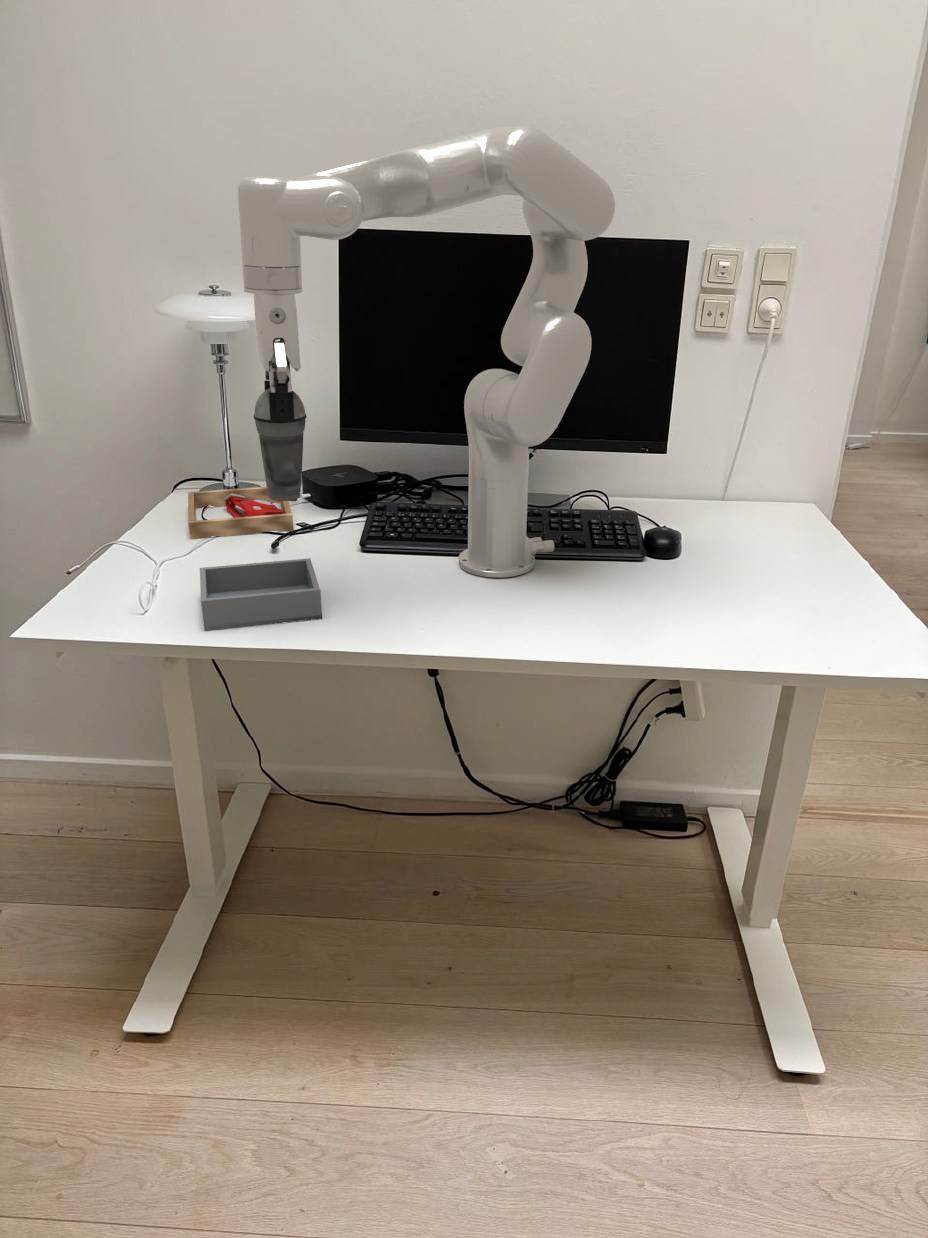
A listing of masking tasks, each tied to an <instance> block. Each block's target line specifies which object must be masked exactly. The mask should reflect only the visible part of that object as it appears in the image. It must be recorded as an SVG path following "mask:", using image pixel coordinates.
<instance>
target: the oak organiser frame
mask: <svg viewBox="0 0 928 1238" xmlns="http://www.w3.org/2000/svg"><path fill="white" fill-rule="evenodd" d="M231 493H232V494H236V495H240V496H244V497H245V498H244V499H243V501H248V500H252V499H256V500H263V501H266V502H276V503H279V504H281V505H280V507H282V508H281V510H282V511H283V514H276V515H263V516H250V517H245V516H244V517H237V518H234V517H227V518H226V517H225V518H213V519H210V518H209V519H201V520H197V518H196V517H197V516H196V509H203V508H202V507H205V506H207V505H211V506H221V507H226V504H225V502H226V501H223V499H224V498H225V497H227V496H228V495H230V494H231ZM187 503H188V509H187V510H188V519H187V520H188V529H189V538H190V540H198V538H199V539H207V538H206V537H211V536H224V537H234V536H235V535H236V536H247V535H248V534H249V535H257V534H256V533H261V534H263V533H262V532H268V531H286V532H293V531H292V530H294V518H293V511H292V509H291V506H290V502H289V501H276V500H272V499H270V498H269V494H268V489H267V486H260V487H259V486H257V487H246V488H245V487H243V488H230V489H215V490H199V491H188V492H187ZM294 531H295V530H294ZM211 538H212V537H211Z"/></svg>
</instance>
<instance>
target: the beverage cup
mask: <svg viewBox="0 0 928 1238" xmlns="http://www.w3.org/2000/svg"><path fill="white" fill-rule="evenodd" d="M274 384H275V382H274ZM292 391H293V399H294V421H293V422H279V423H272V422H271V421H270V409H269V392H271V390H270V388H269V389H267V390H265V389H264V390H263V392H262V393H261V394H259V396H258V398H257V400H256V402H255V406H254V411H253V412H254V414H253V420H254V423H255V426H256V430H257V433H258V436H259V437H258V439H259V445H260V450H261V456H262V458H261V460H262V463H263V470H264V471H263V472H264V476H265V477H264V478H265V484H266V487H267V489H268V494H269V498H270V499H272V500H276V501H288V502H289V501H295V500H298V499H299V498H300V497H301V491H302V479H303V478H302V477H303V452H304V432H305V428H306V418H307V414H306V410H305V406H304V402H303V401H302V400H301V398H300V396H299V394H297V393H296V392H295V391H294V390H292Z"/></svg>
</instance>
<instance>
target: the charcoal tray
mask: <svg viewBox="0 0 928 1238" xmlns="http://www.w3.org/2000/svg"><path fill="white" fill-rule="evenodd" d="M311 560H312V559H311V558H298V559H286V560H276V561H265V562H264V561H263V562H252V563H251V562H250V563H242V564H241V563H240V564H230V565H229V564H228V565H218V566H217V565H216V566H208V567H207V566H206V567H199V582H200V583H199V584H200V605H201V612H202V621H203V629H204V632H207V631H216V630H225V629H234V628H236V629H237V628H247V627H255V626H256V627H257V626H266V625H274V624H275V623H277V624H284V623H283V622H287V623H292V622H291V621H296V622H300V621H299V620H306V621H312V620H311V619H316V620H322V619H323V612H322V611H323V610H322V596H321V588H320V585H319V581H318V579H317V575H316V573H315V568H314V565H313V563H312V561H311Z"/></svg>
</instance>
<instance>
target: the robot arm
mask: <svg viewBox="0 0 928 1238" xmlns="http://www.w3.org/2000/svg"><path fill="white" fill-rule="evenodd" d="M499 196H501V197H502V196H520V197H521V198H522V215H523V217H524V221H525V223H526V225H527V229H528V231H529V234H530V237H531V241H532V249H533V250H532V251H533V253H532V255H533V256H532V261H531V265H530V268H529V272H528V274H527V276H526V279H525V281H524V283H523V286H522V288H521V290H520V292H519V294H518V296H517V298H516V301H515V303H514V305H513V307H512V309H511V312H510V313H509V316H508V318H507V320H506V322H505V325H504V326H503V329H502V332H501V336H500V347H501V349H502V352H503V354H504V355H505V356H506V358H507V359H508V360H509V361H511V362H513V363H514V364H516V365H518V366H521V367H522V368H521V370H520V372H519V374H518V373H516V372H513V371H509V370H507V369H503V368H491V369H490V368H489V369H486V370H483V371H481V372H479V373H478V374H477V375H475V377H473V378H472V380H471V381H470V382H469V384H468V386H467V389H466V390H465V394H464V400H463V404H464V406H463V408H464V409H463V410H464V419H465V424H466V425H465V426H466V432H467V440H468V443H467V444H468V502H467V503H468V506H467V507H468V511H467V512H468V513H467V514H468V515H467V517H468V518H467V519H468V521H467V522H468V523H467V548H466V549H464V550H463V551H461V552H460V553H459V555H458V565H459V567H460V568H461V569H462V570H464V571H465V572H467V573H470V574H472V575H475V576H480V577H485V578H501V579H502V578H511V577H517V576H520V575H523V574H526V573H529V572H530V571H531V570H533V568H534V567H535V560H536V559H535V555H537V553H550V552H551V553H552V552H554V551H555V543H554V540H553V539H549V540H543V538H542V537H541V536H540V537H539V536H538V537H531V538H529V537H528V535H527V524H528V523H527V518H528V497H529V495H528V492H529V474H530V473H529V471H530V455H529V447H534V446H538V445H540V444H542V443H543V442H545V441H547V440H548V439H549V438H550V436H552V434H553V433H554V431H555V430H556V429H557V428H558V425H559V424H560V423H561V420H562V418H563V417H564V415H565V412H566V410H567V408H568V406H569V404H570V403H571V400H572V398H573V396H574V394H575V392H576V390H577V388H578V386H579V383H580V381H581V379H582V378H583V376H584V373H585V371H586V368H587V366H588V364H589V361H590V357H591V351H592V335H591V331H590V328H589V325H588V324H587V323H586V321H585V320H584V318H582V317H581V316H580V314H579V315H578V314H577V313H575V309H576V308H577V307H576V306H577V304H578V303H579V302H578V301H579V299H580V297H581V295H582V293H583V290H584V287H585V284H586V282H587V276H588V264H589V263H588V254H587V248H586V247H587V246H586V243H585V241H590V240H594V239H596V238H598V237H599V236H601V235H603V234H604V233H605V232H606V231H607V230H608V228H609V227H610V225H611V224H612V222H613V219H614V216H615V209H616V203H615V202H616V201H615V195H614V194H613V191H612V189H611V187H610V185H609V184H608V182H607V181H606V180H605V179H604V178H603V177H602V176H601V175H600V174H599V173H598V172H596V171H595V170H594V169H592V168H591V167H590V166H589V165H588V164H586V163H585V162H584V161H582V160H581V159H579V158H578V157H576V155H574V154H573V153H571V152H570V151H569V150H568V149H567V148H565V147H564V146H563V145H561V144H560V143H559V142H558V141H556V140H555V139H553V138H552V137H551V136H549V135H548V134H546V133H545V132H543V131H541V130H540V129H537V128H535V127H532V126H529V125H517V126H516V125H515V126H512V125H511V126H497V127H491V128H488V129H483V130H480V131H475V132H471V133H468V134H463V135H459V136H455V137H451V138H447V139H443V140H440V141H436V142H432V143H428V144H424V145H420V146H416V147H412V148H407V149H403V150H400V151H397V152H393V153H389V154H387V155H383V156H380V157H379V156H378V157H375V158H371V159H368V160H364V161H360V162H354V163H351V164H347V165H342V166H338V167H334V168H331V169H327V170H323V171H322V170H321V171H318V172H315V173H311V174H307V175H304V176H302V177H299V178H298V179H295V180H294V179H291V178H287V177H283V176H260V175H259V176H258V175H254V176H251V175H250V176H246V177H242V179H241V180H239V182H238V186H237V198H238V199H237V200H238V202H237V203H238V213H239V216H238V217H239V229H240V245H241V261H242V275H243V277H242V278H243V279H242V280H243V291H244V292H245V293H247V294H253V304H254V318H255V332H256V339H257V340H256V341H257V347H258V354H259V359H260V363H261V365H262V368H263V370H264V375H265V377H264V378H265V380H264V381H263V382H264V391H265V390H267V389H269V388H270V390H271V392H269V409H270V421H271V422H272V423H279V422H293V421H294V399H293V391H294V390H292V389H293V385H292V378H291V368H292V369H294V371H295V372H300V370H301V368H302V367H301V365H302V364H301V355H300V340H299V324H298V312H297V310H298V309H297V301H296V294H300V293H302V292H303V280H302V279H303V278H302V277H303V275H302V259H301V257H302V256H301V254H302V252H301V237H309V238H317V239H323V240H329V241H339V240H342V239H346V238H347V237H350V236H352V235H353V234H354V233H355V232H357V230H358V229H359V227H360V226H361V224H362V223H363V222H367V221H371V220H379V219H386V218H415V217H416V218H417V217H418V218H419V217H423V216H425V217H426V216H431V215H435V214H438V213H442V212H445V211H448V210H451V209H455V208H459V207H462V206H466V205H469V204H473V203H476V202H477V203H478V202H481V201H485V200H487V199H492V198H495V197H499ZM274 382H275V384H274Z"/></svg>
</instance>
